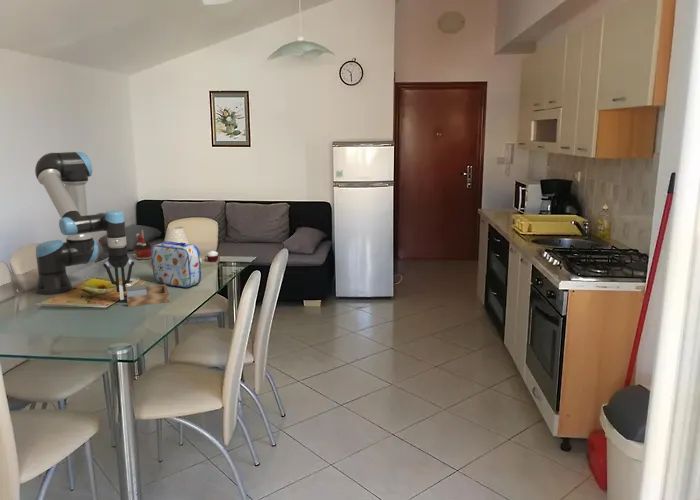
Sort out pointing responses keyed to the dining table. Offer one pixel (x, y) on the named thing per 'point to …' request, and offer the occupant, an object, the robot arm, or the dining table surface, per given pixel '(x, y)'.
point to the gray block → (136, 290)
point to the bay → (150, 296)
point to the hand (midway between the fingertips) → (122, 298)
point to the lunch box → (176, 264)
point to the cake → (142, 248)
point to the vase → (176, 235)
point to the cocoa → (213, 255)
